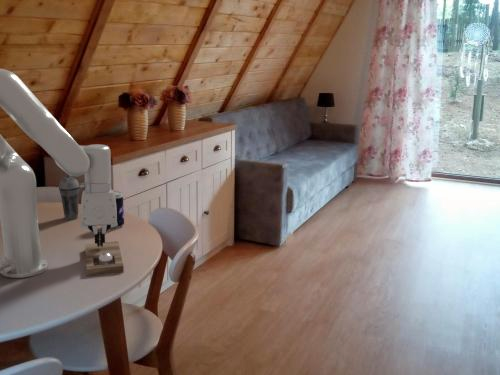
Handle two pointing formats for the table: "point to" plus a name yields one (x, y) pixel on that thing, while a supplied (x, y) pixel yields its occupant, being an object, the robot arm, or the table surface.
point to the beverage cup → (69, 197)
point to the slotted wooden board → (93, 258)
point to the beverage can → (119, 209)
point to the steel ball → (105, 259)
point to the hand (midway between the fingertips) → (99, 245)
